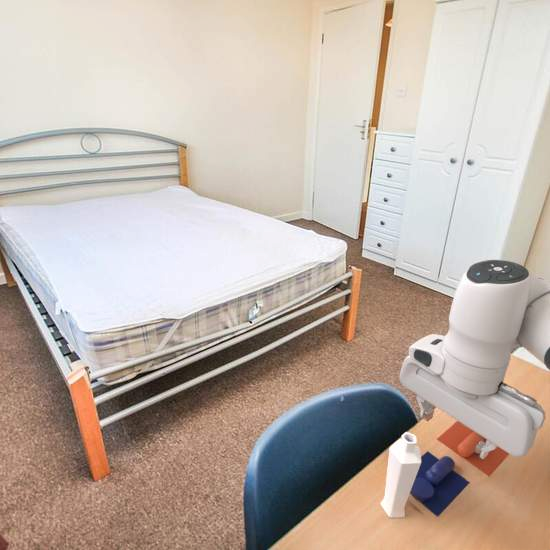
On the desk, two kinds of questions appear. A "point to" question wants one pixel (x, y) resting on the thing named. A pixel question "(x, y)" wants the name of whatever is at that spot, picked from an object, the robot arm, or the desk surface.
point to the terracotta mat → (486, 465)
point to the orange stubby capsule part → (470, 444)
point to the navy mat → (441, 485)
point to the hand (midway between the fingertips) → (451, 435)
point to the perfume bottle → (401, 474)
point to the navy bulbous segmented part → (432, 479)
